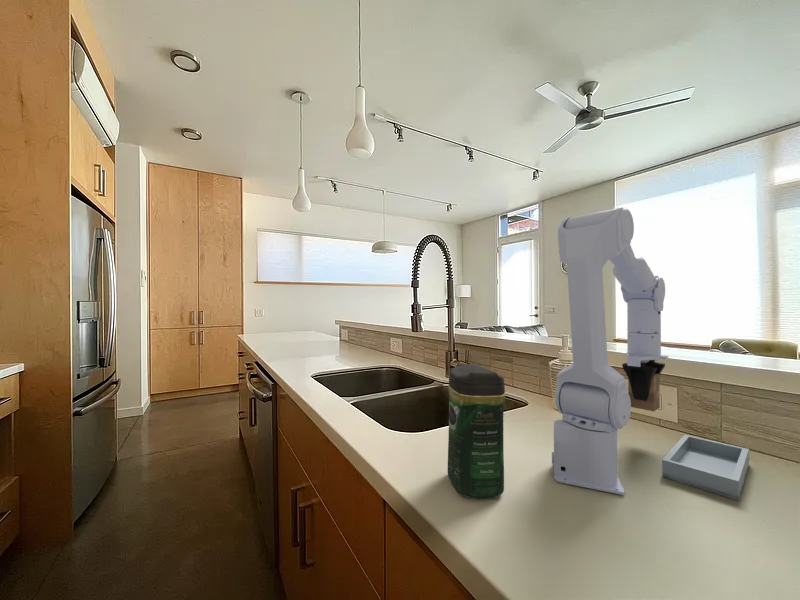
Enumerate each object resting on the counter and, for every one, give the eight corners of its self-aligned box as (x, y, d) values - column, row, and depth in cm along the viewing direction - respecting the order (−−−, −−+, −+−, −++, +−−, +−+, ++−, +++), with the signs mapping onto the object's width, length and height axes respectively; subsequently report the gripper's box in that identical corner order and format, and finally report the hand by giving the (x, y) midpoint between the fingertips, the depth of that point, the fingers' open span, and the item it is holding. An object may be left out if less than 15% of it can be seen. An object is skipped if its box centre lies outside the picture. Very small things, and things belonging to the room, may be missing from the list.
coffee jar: (512, 501, 48) (513, 371, 48) (458, 503, 47) (459, 371, 48) (488, 469, 58) (489, 360, 58) (442, 470, 57) (444, 360, 57)
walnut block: (654, 411, 67) (653, 376, 67) (628, 406, 71) (628, 373, 71) (659, 407, 70) (659, 373, 70) (634, 402, 73) (634, 370, 74)
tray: (738, 500, 49) (738, 481, 49) (662, 476, 56) (662, 459, 56) (749, 464, 61) (748, 449, 61) (684, 448, 68) (684, 434, 68)
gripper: (658, 335, 63) (658, 408, 63) (675, 332, 72) (675, 396, 72) (615, 333, 68) (615, 400, 68) (636, 330, 78) (636, 389, 77)
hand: (643, 397), depth 70 cm, fingers closed on walnut block, 4 cm apart
